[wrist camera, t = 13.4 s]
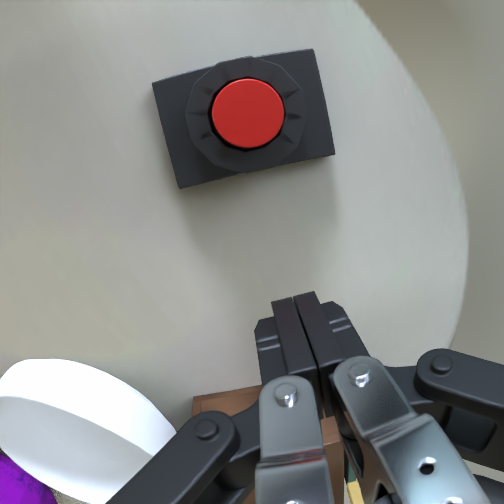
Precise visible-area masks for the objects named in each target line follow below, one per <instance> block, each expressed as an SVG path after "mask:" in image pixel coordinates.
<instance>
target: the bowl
mask: <svg viewBox="0 0 504 504" xmlns="http://www.w3.org/2000/svg"><path fill="white" fill-rule="evenodd" d="M176 433H177V432H176V431H175V429H174V427H173V426H172V425H171V424H170V423H169V422H168V421H167V419H166V418H165V417H164V416H163V415H162V414H161V413H160V411H159V410H158V409H157V408H156V407H155V406H154V405H153V404H152V403H151V402H150V401H149V400H148V399H147V398H145V397H144V396H143V395H142V394H141V393H140V392H138V391H137V390H135V389H134V388H132V387H131V386H129V385H128V384H126V383H125V382H123V381H121V380H119V379H117V378H115V377H113V376H111V375H110V374H108V373H106V372H103V371H101V370H98V369H96V368H93V367H91V366H88V365H84V364H81V363H77V362H73V361H68V360H60V359H35V360H25V361H22V362H19V363H16V364H15V365H13V366H12V367H11V368H10V369H8V370H7V372H6V373H5V374H4V375H3V377H2V378H1V379H0V448H1V449H2V450H3V451H4V452H5V453H6V454H7V455H8V456H9V457H10V458H11V459H12V460H13V461H14V462H15V463H16V464H17V465H19V466H20V467H21V468H22V469H24V470H25V471H26V472H28V473H29V474H30V475H32V476H33V477H35V478H36V479H38V480H39V481H41V482H43V483H44V484H46V485H48V486H50V487H51V488H53V489H55V490H57V491H59V492H61V493H63V494H66V495H68V496H70V497H73V498H75V499H78V500H80V501H83V502H86V503H90V504H105V503H106V502H107V501H108V500H109V499H110V498H111V497H112V496H113V495H115V494H116V493H117V492H118V491H119V490H120V489H121V488H122V487H123V486H124V485H125V484H126V483H127V482H128V481H129V480H130V479H131V478H132V477H133V476H134V475H135V474H136V473H137V472H138V471H139V470H140V469H141V468H142V467H143V466H144V465H145V464H146V463H148V462H149V461H150V460H151V458H152V457H153V456H154V455H155V454H156V453H157V452H158V451H159V450H160V449H161V448H162V447H163V446H164V445H165V444H166V443H167V442H168V441H169V440H170V439H171V438H172V437H173V436H174V435H175V434H176Z"/></svg>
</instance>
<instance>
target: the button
mask: <svg viewBox="0 0 504 504" xmlns="http://www.w3.org/2000/svg"><path fill="white" fill-rule="evenodd" d="M212 118H213V122H214V125H215V128H216V130H217V131H218V133H219V134H220V135H221V136H222V137H223V138H224V139H225V140H226V141H228V142H229V143H231V144H233V145H236V146H239V147H245V148H252V147H257V146H261V145H263V144H265V143H267V142H269V141H270V140H271V139H273V138H274V137H275V136H276V134H277V133H278V132H279V130H280V128H281V126H282V123H283V119H284V108H283V104H282V101H281V99H280V97H279V95H278V94H277V92H276V91H275V90H274V89H273V88H272V87H270V86H269V85H268V84H266V83H264V82H261V81H259V80H254V79H242V80H238V81H235V82H232V83H230V84H229V85H227V86H226V87H225V88H223V89H222V90H221V91H220V93H219V94H218V95H217V97H216V99H215V101H214V104H213V109H212Z"/></svg>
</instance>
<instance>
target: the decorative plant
mask: <svg viewBox="0 0 504 504" xmlns="http://www.w3.org/2000/svg"><path fill="white" fill-rule="evenodd" d="M0 504H58V503H57V501H56V499H55V497H54V495H53V493H52V491H51V489H50V488H49V487H48V486H47V485H46V484H44V483H43V482H41V481H39V480H38V479H36V478H35V477H33V476H32V475H30V474H29V473H28V472H26V471H25V470H24V469H22V468H21V467H20V466H19V465H17V464H16V463H15V462H14V461H13V460H12V459H11V458H9V457H7V456H5V455H2V454H0Z"/></svg>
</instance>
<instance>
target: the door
mask: <svg viewBox="0 0 504 504" xmlns="http://www.w3.org/2000/svg"><path fill="white" fill-rule="evenodd" d="M344 478H345V481H346V484H347V492H348V495H349V499H350V502H351V504H364V501H363V498H362V494H361V491H360V488H359V484H358V481H357V480H356V476H355V473H354V471H353V469H352V467H351V464H350V462H349V460H348V457H347V455H346V453H345V450H344Z"/></svg>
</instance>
